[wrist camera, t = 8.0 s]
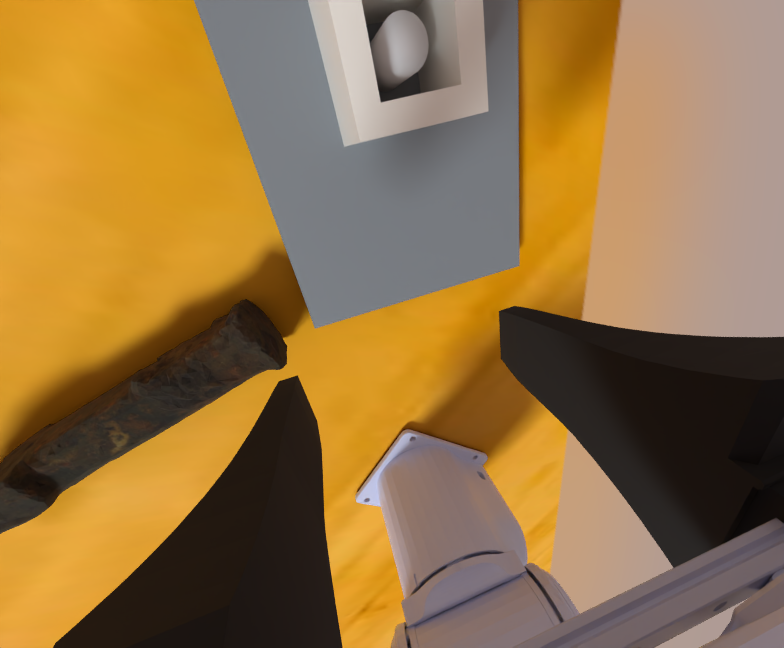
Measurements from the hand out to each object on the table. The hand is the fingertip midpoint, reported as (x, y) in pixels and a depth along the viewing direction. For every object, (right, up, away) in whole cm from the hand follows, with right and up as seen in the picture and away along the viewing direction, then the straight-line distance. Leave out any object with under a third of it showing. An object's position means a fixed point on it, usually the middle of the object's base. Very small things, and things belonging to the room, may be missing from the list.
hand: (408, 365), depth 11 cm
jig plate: (-1, +10, +6) cm, 11 cm away
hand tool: (-15, -3, +8) cm, 18 cm away
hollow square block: (-1, +12, +3) cm, 13 cm away
